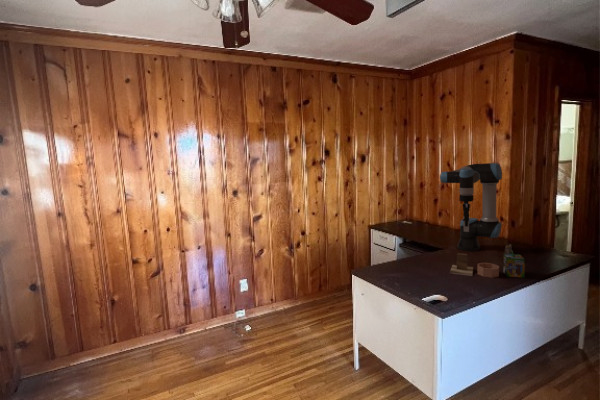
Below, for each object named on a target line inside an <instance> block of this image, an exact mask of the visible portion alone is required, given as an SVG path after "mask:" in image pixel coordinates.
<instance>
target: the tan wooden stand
mask: <svg viewBox="0 0 600 400" xmlns="http://www.w3.org/2000/svg"><path fill="white" fill-rule="evenodd" d="M454 273H457V274H456V275H462V274H465V275H464V276H470V275H472V276H473V273H474V267H473V266H468V253H460V252H459V253H456V264H452V265H451V268H450V272H449V274H454Z"/></svg>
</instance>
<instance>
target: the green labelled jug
mask: <svg viewBox="0 0 600 400" xmlns="http://www.w3.org/2000/svg"><path fill="white" fill-rule="evenodd" d="M502 255H503V258H502V259H503V262H502V263H503V267H502V268H503V269H502V271H503V274H504V276H506V278H522V279H525V278H526V275H525V273H526V270H525V269H526V266H525V265H526V263H525V262H526V261H525V259H526V258H525V257H524V256H523V255H522V254H515V253H514V251H513V249H512V250H511V254H505V253H503V254H502Z"/></svg>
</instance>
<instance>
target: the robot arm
mask: <svg viewBox="0 0 600 400" xmlns="http://www.w3.org/2000/svg"><path fill="white" fill-rule="evenodd" d="M439 177H440V178H439V180H440V182H441V183H442V184H459V188H458V191H459V200H458V201H460V202H463V203H462V211H463V214H462V215H463V218H462V219H461V220H460V223H459V231H460V232H459V241H458V242H457V249H459V250H461V251H464V252H465V251H466V252H476V251H480V249H481V247H480V242H479V240H478V237H481V238H488V239H489V238H490V239H498V238H499V236H500V234H501V231H502V226H503V225H502V222H500V220H499V218H498V217H497V185H498V184H499V183H500V181H501V180H502V178H503V170H502V167H501V165H500V164H499V163H495V162H491V163H490V162H488V163H472V164H469V165H464V166H462V167H460V168H458V169H455V170H450V171H448V170H447V171H442V172H441V173H440V175H439ZM478 181H479V183H480V184H481V185H482V186H481V187H482V196H481V197H482V200H481V201H482V205H481V206H482V211H481V212H482V216H481V218H480V219H478V218H477V217H470V208H471V204H470V203H469V202H474V194H475V193H474V192H475V191H474V189H475V188H474V184H475V183H476V184H477V183H478Z"/></svg>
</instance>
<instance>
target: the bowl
mask: <svg viewBox="0 0 600 400" xmlns="http://www.w3.org/2000/svg"><path fill="white" fill-rule="evenodd" d="M477 275H479V276H482V277H484V278H485V277H486V278H498V277H499V276H500V265H497V264H496V263H491V262H490V263H489V262H480V263H477Z"/></svg>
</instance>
